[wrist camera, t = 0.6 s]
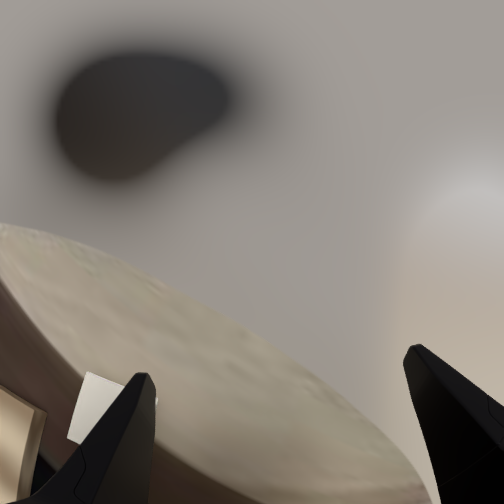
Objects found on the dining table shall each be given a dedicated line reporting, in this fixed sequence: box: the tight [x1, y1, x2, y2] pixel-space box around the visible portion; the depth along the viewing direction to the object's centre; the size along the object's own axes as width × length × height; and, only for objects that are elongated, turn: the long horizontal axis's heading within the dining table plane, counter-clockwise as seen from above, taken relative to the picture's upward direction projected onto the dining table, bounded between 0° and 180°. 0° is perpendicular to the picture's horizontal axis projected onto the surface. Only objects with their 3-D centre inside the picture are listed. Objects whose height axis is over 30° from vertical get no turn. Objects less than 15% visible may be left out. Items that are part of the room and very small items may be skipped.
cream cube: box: [67, 371, 158, 444], centre depth 16 cm, size 5×5×5 cm
